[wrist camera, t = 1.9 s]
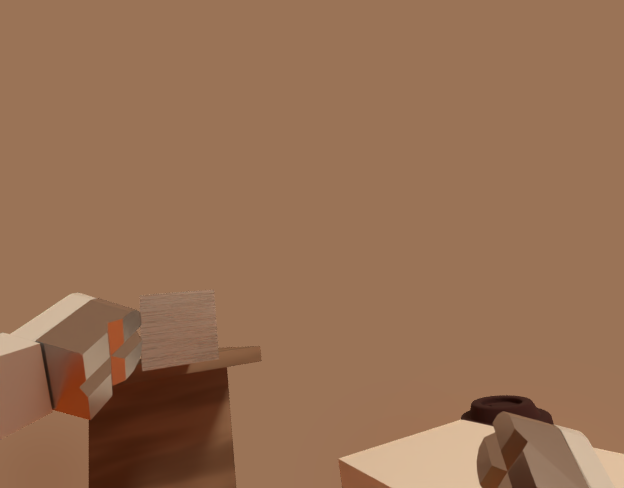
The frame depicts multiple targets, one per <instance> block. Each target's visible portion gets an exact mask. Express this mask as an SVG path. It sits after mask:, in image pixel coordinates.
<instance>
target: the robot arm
mask: <svg viewBox="0 0 624 488" xmlns="http://www.w3.org/2000/svg"><path fill="white" fill-rule="evenodd" d="M141 325H142V319H141V313H140V312H139V311H137V310H135V309H132V308H129V307H125V306H122V305H119V304H115V303H112V302H109V301H106V300H102V299H99V298H94V297H90V296H88V295H84V294H81V293H74V294H70V295H68V296H67V297H65V298H64V299H62V300H61V301H59V302H58V303H56V304H55V305H54V306H52V307H50V308H49V309H47V310H46V311H44V312H43V313H42V314H40V315H38V316H37V317H35V318H34V319H32V320H31V321H30V322H28V323H26V324H25V325H23V326H22V327H20V328H19V329H17V330H16V331H14V332H13V333H11V334H6V333H0V440H1V439H3V438H5V437H7V436H9V435H10V434H12V433H14V432H16V431H18V430H20V429H22V428H24V427H25V426H27V425H29V424H31V423H33V422H35V421H36V420H39V419H41V418H43V417H44V416H46V415H48V414H50V413H52V410H55V411H59V412H63V413H66V414H70V415H74V416H77V417H81V418H85V419H89V420H91V419H92V418H93V417H94V416H95V415H96V414H97V412H98V411H99V410H100V409H101V408H102V407H103V406H104V405H105V403H106V402H107V401H108V400H109V399H110V398H111V397H112V395H113V385H116V384H118V383H120V382H123V381H125V380H126V379H127V378H128V377H129V376H130V375H131V373H132V372H133V371H134V369H135V367H136V365H137V363H138V361H139V360H140V357H141V352H142V339H141V337H140V336H139V335H138V333H137V331H136V330H137V329H138V328H139V327H140V326H141ZM493 427H494V430H495V433H493V434H490V435H488V436H486V437H484V439H483V441H482V443H481V444H480V446H479V449H478V455H477V474H478V479H479V483H480V486H481V487H482V488H615V486H614V485H613V483H612V481H611V479H610V478H609V476H608V474H607V472H606V471H605V469H604V467H603V465H602V463H601V462H600V460H599V458H598V456H597V455H596V453H595V451H594V449H593V448H592V446H591V444H590V442H589V441H588V439H587V437H586V436H584V435H583V434H582V433H581V432H580V431H576V430H573V429H569V428H565V427H562V426H558V425H551V424H549V423H545V422H542V421H538V420H534V419H530V418H527V417H523V416H519V415H516V414H512V413H508V412H504V411H502V412H501V413H499V414H498V415H497V416H496V418H495V420H494V421H493Z"/></svg>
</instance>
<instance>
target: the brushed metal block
mask: <svg viewBox="0 0 624 488" xmlns="http://www.w3.org/2000/svg"><path fill="white" fill-rule="evenodd" d="M140 313H141V319H142V325H141V326H140V335H141V339H142V352H141V363H142V371H147V370H153V369H160V368H166V367H172V366H179V365H185V364H191V363H197V362H204V361H210V360H216V359H219V353H218V340H217V326H216V313H215V299H214V290H205V291H191V292H178V293H166V294H153V295H141V296H140Z"/></svg>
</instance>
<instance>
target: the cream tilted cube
mask: <svg viewBox="0 0 624 488" xmlns="http://www.w3.org/2000/svg"><path fill="white" fill-rule="evenodd" d="M493 433H495V430H494V427H493V426H490V425H485V424H480V423H475V422H471V421H466V420H458V421H456V422H452V423H449V424H446V425H443V426H439V427H436V428H433V429H430V430H427V431H424V432H421V433H417V434H414V435H411V436H408V437H405V438H402V439H399V440H395V441H392V442H389V443H386V444H383V445H380V446H377V447H374V448H370V449H367V450H364V451H361V452H358V453H355V454H351V455H348V456H345V457H342V458H339V459H338V460H339V468H340V475H341V482H342V488H482V487H481V486H480V483H479V479H478V474H477V455H478V449H479V446H480V444H481V443H482V441H483V439H484V437H486V436H488V435H490V434H493ZM593 449H594V451H595V453H596V455H597V456H598V458H599V460H600V462H601V463H602V465H603V467H604V469H605V471H606V472H607V474H608V476H609V478H610V479H611V481H612V483H613V485H614V486H615V488H624V454H621V453H616V452H611V451H606V450H602V449H597V448H593Z"/></svg>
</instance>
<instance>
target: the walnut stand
mask: <svg viewBox="0 0 624 488" xmlns="http://www.w3.org/2000/svg"><path fill="white" fill-rule="evenodd" d="M218 353H219V359H216V360H210V361H204V362H197V363H191V364H185V365H179V366H172V367H166V368H160V369H153V370H147V371H142V363H141V359H140V360H139V361H138V363H137V365H136V367H135V369H134V371H133V372H132V373H131V375H130V376H129V377H128V378H127V379H126V380H125V381H123V382H120V383H118V384H116V385H113V395H112V397H111V398H110V399H109V400H108V401H107V402H106V403H105V405H104V406H103V407H102V408H101V409H100V410H99V411H98V412H97V414H96V415H95V416H94V417H93V418H92V419H91V420H89V488H236V478H235V465H234V454H233V441H232V428H231V416H230V415H231V414H230V401H229V389H228V377H227V367H229V366H235V365H241V364H247V363H253V362H259V361H261V350H260V346H255V347H254V346H253V347H227V348H218Z"/></svg>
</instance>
